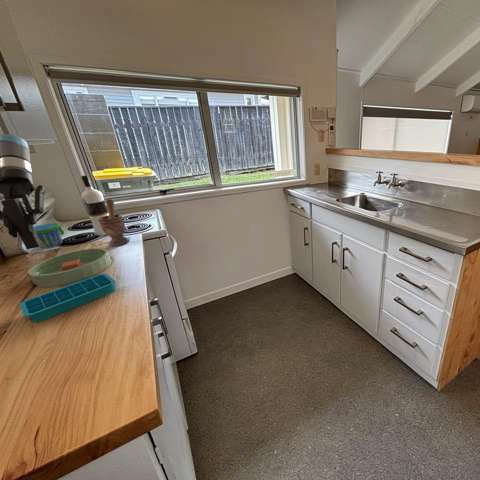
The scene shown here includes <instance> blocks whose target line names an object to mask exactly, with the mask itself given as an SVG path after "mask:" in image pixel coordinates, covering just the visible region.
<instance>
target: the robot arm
mask: <svg viewBox="0 0 480 480" xmlns="http://www.w3.org/2000/svg"><path fill="white" fill-rule="evenodd" d="M30 153H31V150H30V148H29V144H28V142H27V141H26V140H25V139H24V138H22V137H20V136H19V135H15V134H11V133H3V134H0V195H3V197H4V200H5V199H13V198H19V199H21V200H22V203H23V205H24V209H25V212H26V213H24V221H25V230H26V232H28V233H29V234H30V235H33V234H34V230H33V227H34V225H36V224H37V223H38V222H37V215H42V214H44V209H45V207H44V206H45V195H46V192H47V190H46V189H45V187H44V186H43V185H42V184H39V185H35V184H34V177H33V170H32V164H31V163H32V162H31V154H30ZM33 192H34V205H33V203H32V198H31V196H30V195H31V194H32V193H33ZM2 206H3V205H2V203H1V201H0V221H2V220H3V221H2V223H3V226H4V227H5V228H7V231H8V232H7V233H8V235H10V236H11V237H12V238H14V239H15V238H18V237H19V234H18V232H17V230H16V228H15V227H14V225H13V223H12V221H11V219H10V217H9V216H8V214H7V212H6V210H5V208H4V206H3V207H2Z"/></svg>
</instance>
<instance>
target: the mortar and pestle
mask: <svg viewBox="0 0 480 480" xmlns="http://www.w3.org/2000/svg"><path fill="white" fill-rule="evenodd" d="M105 204H106V206H107V209H108V213H109V216H104V217H101V218H99V219H98V220H99V223H100V225H101V227H102V229H103V231H104V232H105V234H106V235H105V236H108V237H109V238H111V239H110V240H109V246H110V247H115V246H116V247H119V246H123V245H125V244H128V243H130V239H128V238H127V237H125V236H124V233H125V232H126V223H125V221H124V217H123V215H122V214H115V201H114V200H113V199H111V198H108V199H106V200H105Z"/></svg>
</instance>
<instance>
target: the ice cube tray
mask: <svg viewBox="0 0 480 480" xmlns="http://www.w3.org/2000/svg"><path fill="white" fill-rule="evenodd" d="M116 282H117V281H116V280H115V279H114V278H112V276H110V275H109V274H108V273H107V272H103V273H98V274H95V275H93V276H90V277H88V278H85V279H82V280H79V281H76V282H73V283H70V284H67V285H64V286H62V287H60V288H56V289H54V290H51V291H48V292H45V293H42V294H39V295H36V296H34V297H31V298H28V299H25V300H23V301H21V302H20V303H19V306H20V309H21V313H22V315H23V317H24V318H30V319H31V321H32V322H33V323H39V322H42V321H45V320H48V319H50V318H52V317H54V316H58V315H59V314H62V313H65V312H67V311H69V310H72V309H74V308H77V307H79V306H81V305H84V304H87V303H89V302H92V301H94V300H97V299H100V298H102V297H104V296H106V295H109V294H112V293H114V292H115V286H114V285H115V284H116Z"/></svg>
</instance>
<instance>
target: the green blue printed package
mask: <svg viewBox="0 0 480 480" xmlns="http://www.w3.org/2000/svg"><path fill="white" fill-rule="evenodd" d="M33 227H34V229H35V231H36V233H37V235H38V237H39V239H40V241H41V243H42V245H41V246H40V247H39V249H48V248H53V247H57V246H59V245H61V244H63V239H62V236H64V235H65V231H64V229H63V228H62V226H61V225H60V224H59V223H56V222H53V223H52V222H51V223H43V224H40V225H39V224H38V225H34V226H33Z"/></svg>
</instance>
